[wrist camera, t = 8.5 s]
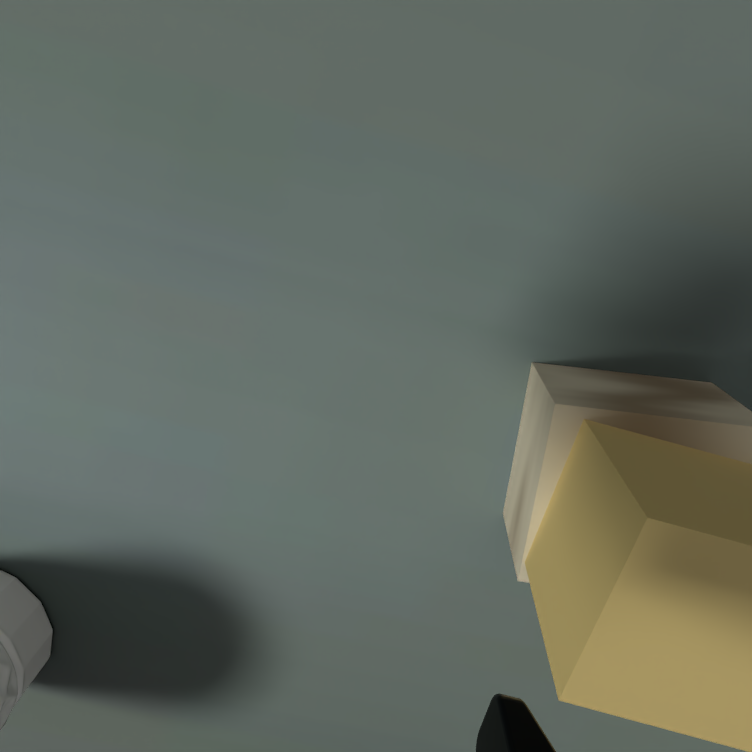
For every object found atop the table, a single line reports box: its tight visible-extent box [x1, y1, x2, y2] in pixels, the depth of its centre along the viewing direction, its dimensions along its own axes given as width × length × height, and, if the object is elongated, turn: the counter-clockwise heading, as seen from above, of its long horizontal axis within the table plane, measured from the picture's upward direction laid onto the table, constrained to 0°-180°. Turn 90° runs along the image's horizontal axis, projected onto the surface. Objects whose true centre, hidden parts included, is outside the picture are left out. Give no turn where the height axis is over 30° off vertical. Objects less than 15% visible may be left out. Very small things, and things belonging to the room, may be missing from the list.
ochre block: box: [525, 419, 752, 752], centre depth 15 cm, size 5×5×5 cm
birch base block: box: [503, 362, 752, 583], centre depth 19 cm, size 6×6×4 cm
